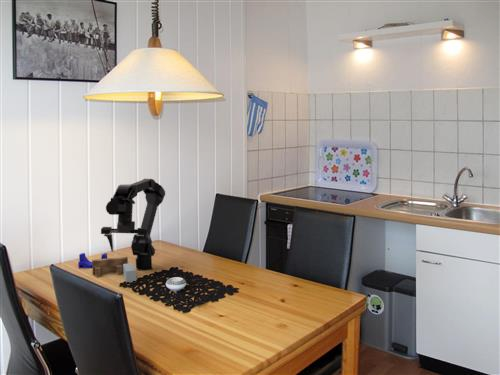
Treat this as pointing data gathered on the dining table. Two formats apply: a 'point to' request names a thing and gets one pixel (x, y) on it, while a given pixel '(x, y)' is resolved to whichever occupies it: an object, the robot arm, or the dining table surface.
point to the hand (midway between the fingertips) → (123, 251)
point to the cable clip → (87, 261)
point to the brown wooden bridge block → (108, 265)
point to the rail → (129, 272)
